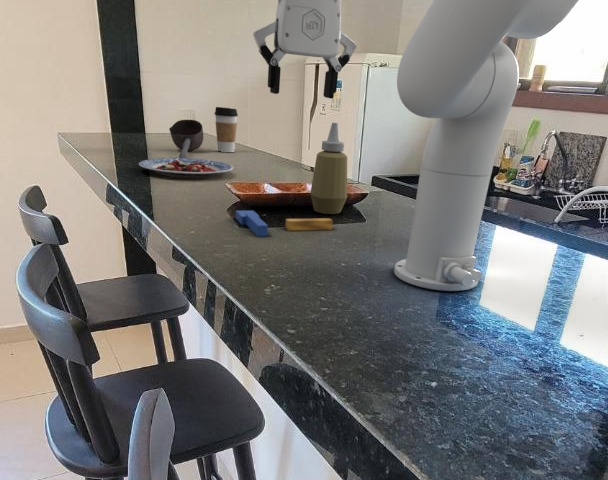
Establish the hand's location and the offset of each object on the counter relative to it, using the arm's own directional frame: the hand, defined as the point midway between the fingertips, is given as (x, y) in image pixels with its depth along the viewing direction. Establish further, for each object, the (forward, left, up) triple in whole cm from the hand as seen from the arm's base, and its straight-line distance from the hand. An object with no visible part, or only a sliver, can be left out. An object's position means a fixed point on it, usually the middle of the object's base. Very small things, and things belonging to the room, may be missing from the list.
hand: (301, 95), depth 90 cm
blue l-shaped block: (+3, +7, -23) cm, 24 cm away
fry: (+1, -3, -23) cm, 23 cm away
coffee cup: (+113, -12, -23) cm, 116 cm away
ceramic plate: (+64, +10, -23) cm, 69 cm away
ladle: (+99, +5, -23) cm, 102 cm away
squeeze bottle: (+15, -13, -23) cm, 30 cm away
